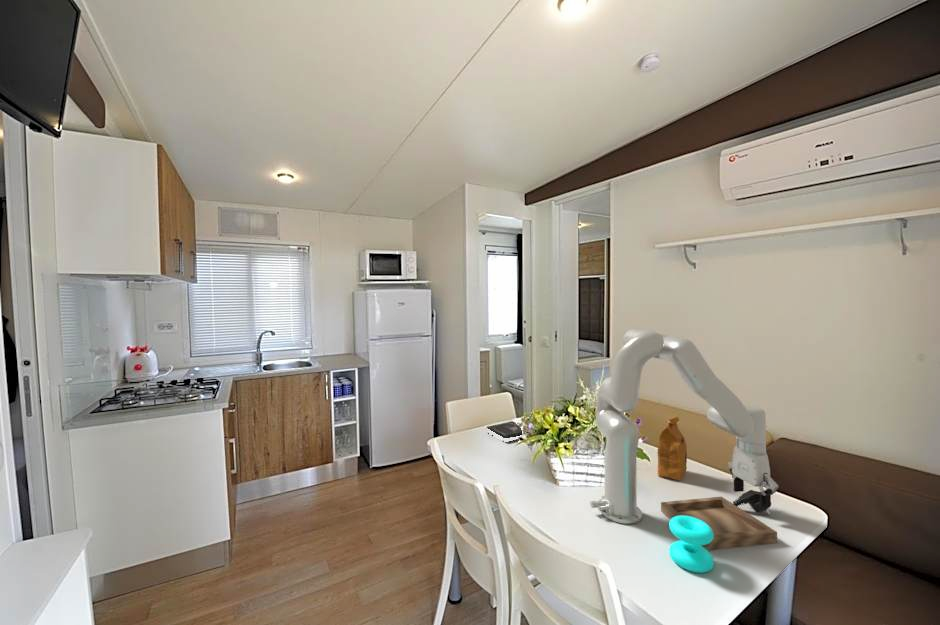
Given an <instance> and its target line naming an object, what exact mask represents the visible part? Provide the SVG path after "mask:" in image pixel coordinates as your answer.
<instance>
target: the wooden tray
mask: <svg viewBox="0 0 940 625" xmlns="http://www.w3.org/2000/svg"><path fill="white" fill-rule="evenodd" d="M660 512H661V513H663V515H664V516H666V517H667V518H668V519H669V521H670V520H671V519H672V518H673V517H675V516H680V515H684V516H691V517H694V518H697V519H700V520H702V521H703V522H705V523H706V524H708V525H709V526H710V528H711V529H712V531H713V534H714V537H713V540H712V541H711V542H710V543H709V544H706V545H701V546H702V547H704V548H705V549H706V550H707V551H708V552H709V551H715V550H716V551H717V550H724V549H725V550H726V549H731V548H732V549H733V548H742V547H750V546H752V547H753V546H757V545H758V546H759V545H760V546H761V545H768V544H777V543H778V531H777V530H775V529H773V528H772V527H771V526H768V525H767V524H766V523H763V522H762V521H760V520H759V519H757V518H756V517H755V516H754V515H751V514H750V513H748V512H746V510H743V509H742V508H740V506H736V505H734V504H733V502H731V501H729V500H727V499H726V498H725V497H723V496H712V497H704V498H703V497H702V498H701V497H700V498H693V499H683V500H682V499H681V500H672V501H661V502H660Z"/></svg>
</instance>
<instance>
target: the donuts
mask: <svg viewBox="0 0 940 625" xmlns="http://www.w3.org/2000/svg"><path fill="white" fill-rule="evenodd" d="M668 527H669V530H670V532H671V533H672V534H673V535H674V537H676V538H677V539H678V540H677V541H673V543H671V544H670V545H669V549H668V552H669V555H670V556H669V557H671V559H672V561H673V562H674V563H675V564H677V565H678V566H679V567H681V568H682V569H685V570H687V571H689V572H694V573H699V574H700V573H708V572H710V571H711V570H712V569H713V568H714V565H715V564H714V563H715V562H714V558H713V556H712V554H711V553H710V552H709V550H708V551H707V550H706V549H705V548H704V547H702V546H701V545H706V544H709V543H710V542H711V541H712V540H713V537H714V534H713V531H712V529H711V528H710V526H709V525H708V524H706V523H705V522H703V521H702V520H700V519H697V518H694V517H691V516H684V515H680V516H675V517H673V518H672V519H671V520H670V519H669V523H668Z"/></svg>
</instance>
